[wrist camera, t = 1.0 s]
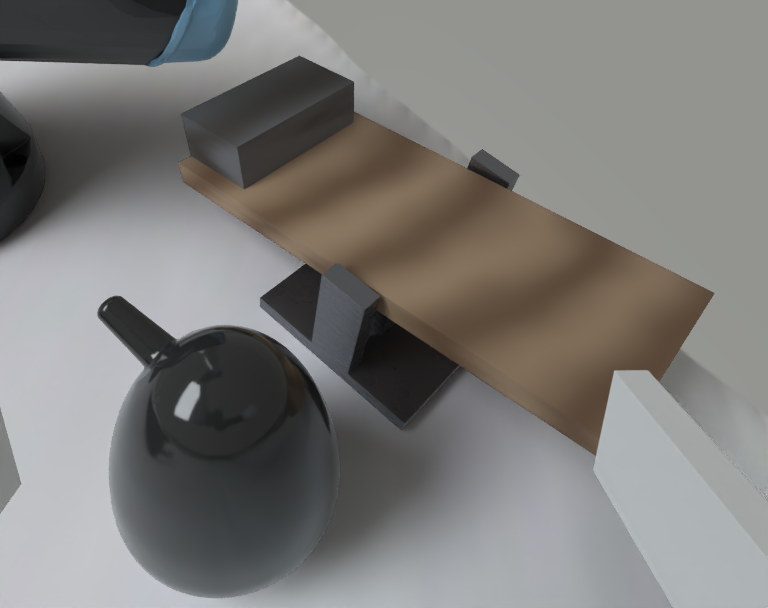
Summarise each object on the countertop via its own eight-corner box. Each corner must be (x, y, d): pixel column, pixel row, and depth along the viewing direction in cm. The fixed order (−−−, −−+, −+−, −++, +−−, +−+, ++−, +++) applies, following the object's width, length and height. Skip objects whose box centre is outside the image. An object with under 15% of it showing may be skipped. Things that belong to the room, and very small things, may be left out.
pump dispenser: (220, 378, 35) (201, 198, 23) (365, 480, 34) (430, 344, 21) (80, 525, 30) (-43, 390, 17) (246, 657, 28) (238, 612, 16)
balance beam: (183, 182, 39) (167, 120, 36) (312, 108, 45) (309, 50, 42) (606, 463, 27) (643, 411, 24) (702, 311, 33) (741, 253, 30)
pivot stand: (260, 306, 39) (260, 224, 32) (404, 196, 47) (428, 112, 40) (401, 430, 36) (433, 366, 29) (530, 290, 43) (578, 215, 37)
